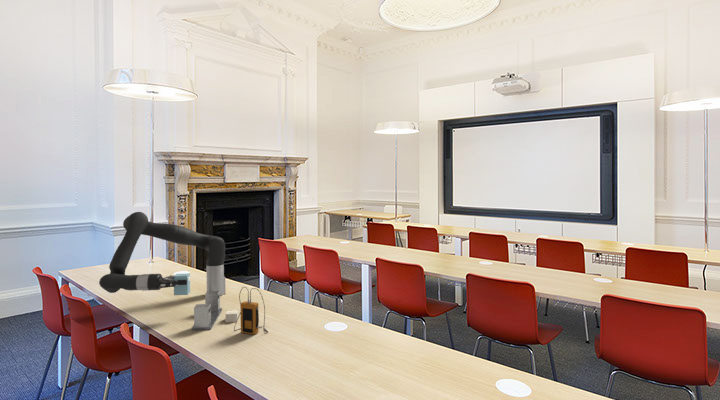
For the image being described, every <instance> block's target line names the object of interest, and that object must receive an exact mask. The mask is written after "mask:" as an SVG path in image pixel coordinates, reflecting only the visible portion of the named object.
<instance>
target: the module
mask: <svg viewBox="0 0 720 400" xmlns="http://www.w3.org/2000/svg"><path fill="white" fill-rule="evenodd" d="M173 276H174V280H187V284H186V285H178V286H175V287H173V295H174V296H188V295H189V294H190V293H191V273H176V274H175V275H173Z"/></svg>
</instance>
